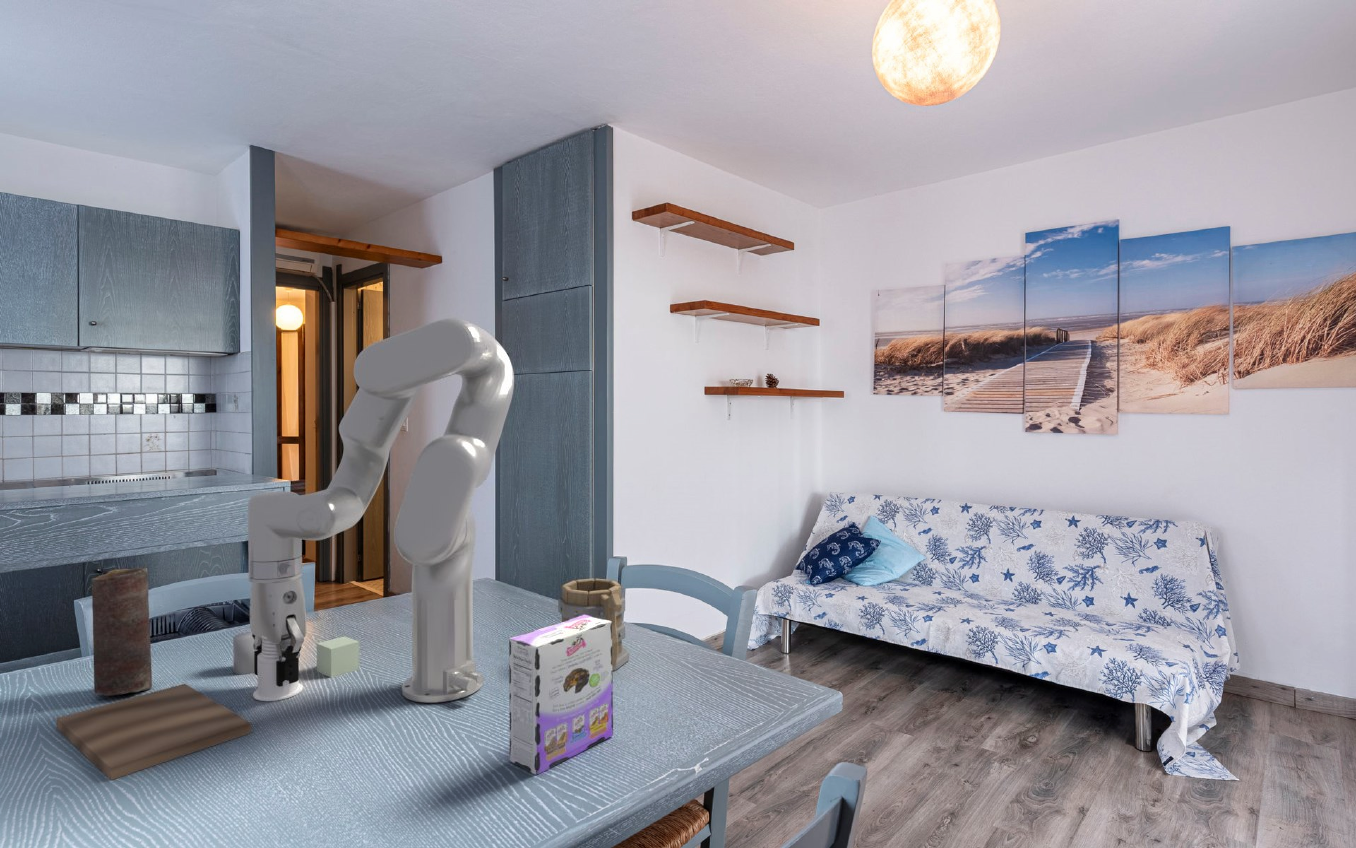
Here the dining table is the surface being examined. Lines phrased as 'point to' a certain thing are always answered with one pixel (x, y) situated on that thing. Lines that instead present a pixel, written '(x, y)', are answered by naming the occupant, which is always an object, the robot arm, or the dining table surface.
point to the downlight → (272, 675)
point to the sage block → (337, 656)
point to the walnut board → (150, 729)
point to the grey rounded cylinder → (243, 653)
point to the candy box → (560, 691)
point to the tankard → (597, 609)
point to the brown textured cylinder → (121, 632)
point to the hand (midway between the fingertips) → (276, 677)
